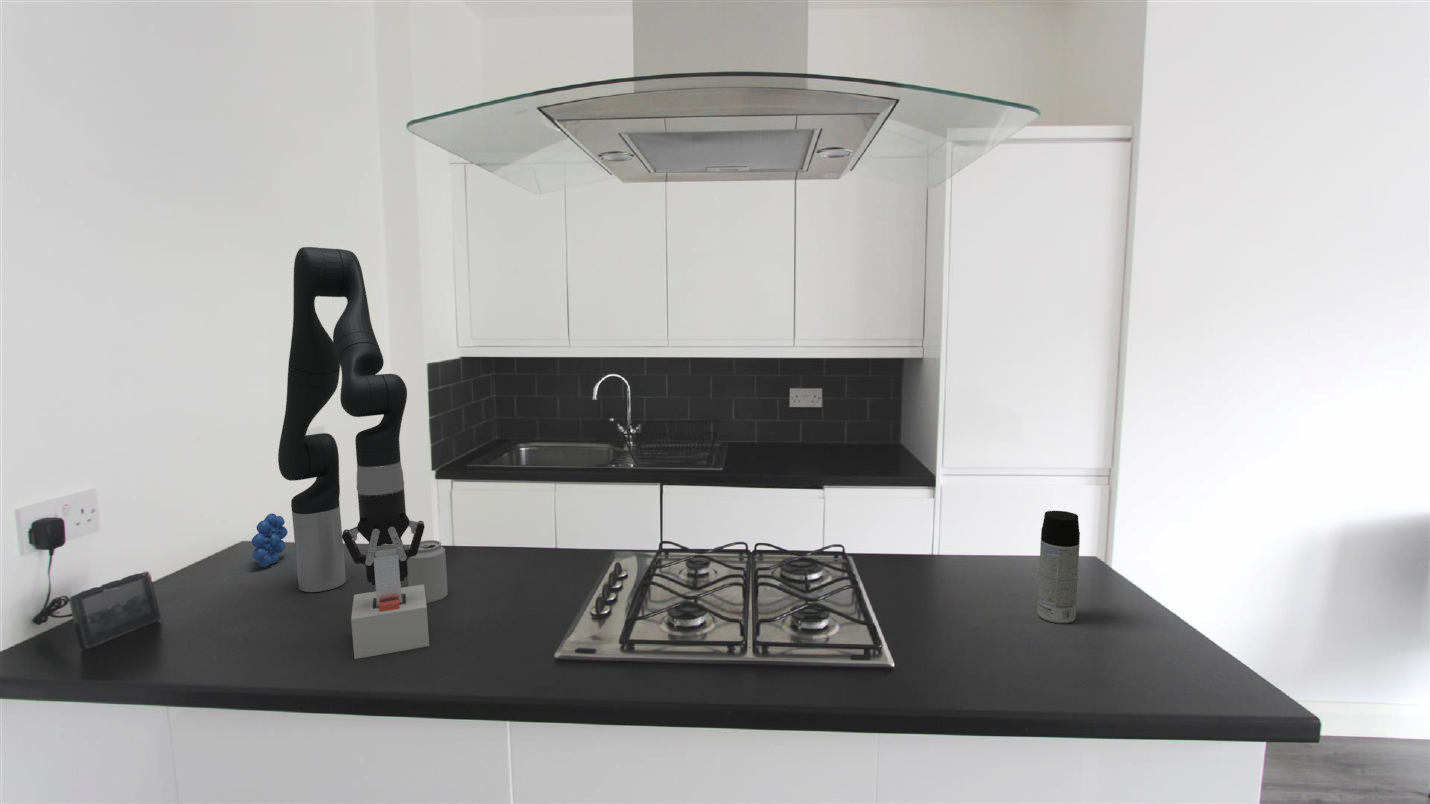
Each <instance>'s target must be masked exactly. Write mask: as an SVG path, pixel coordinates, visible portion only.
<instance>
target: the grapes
mask: <svg viewBox="0 0 1430 804" xmlns="http://www.w3.org/2000/svg"><path fill="white" fill-rule="evenodd" d="M285 523H286V521H285V519H284V517H283V516H281V515H276V514H275V513H268V515H266V516H265V518H264V519H263V520H261V521H259V522H258V523H257V525H256V531H257V532H258V533H256V534H255V535H253V537H252V538H251V543H252V546H254V547H255V549H254V550H253V551H252V553H251V554H252V555H251V556H252V558H253V560H255V561H257V564H258V565H259V566H260V568H267V566H269V565H274V564H276V563H277V562H278V560H279V559H280V553H282V552H283V551H284V550H285V548H286V547H287V546H286V543H285V541H284V539H285V538H286V536H287V535H288V533H289V531H288V530H287V528H286V527H285V526H284V525H285Z"/></svg>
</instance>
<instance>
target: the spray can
mask: <svg viewBox="0 0 1430 804" xmlns="http://www.w3.org/2000/svg"><path fill="white" fill-rule="evenodd" d="M1042 521H1043V522H1042V527H1041V529H1040V531H1041V533H1040V547H1039V548H1040V550H1039V551H1040V552H1039V571H1038V572H1039V573H1038V587H1037V588H1038V590H1037V593H1038V594H1037V615H1038V617H1039V618H1041V619H1042V620H1044V621H1046V622H1049V623H1053V624H1070V623H1073V622H1074V621H1075V619H1076V617H1077V615H1076V614H1077V613H1076V612H1077V597H1078V582H1079V581H1078V579H1079V578H1078V577H1079V562H1080V561H1079V560H1080V558H1079V557H1080V542H1081V541H1080V538H1081V537H1080V536H1081V532H1080V526H1079V525H1080V523H1079V515H1078V514H1076V513H1075V512H1070V511H1066V510H1065V511H1064V510H1047V511H1045V512H1044V516H1043V520H1042Z"/></svg>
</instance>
